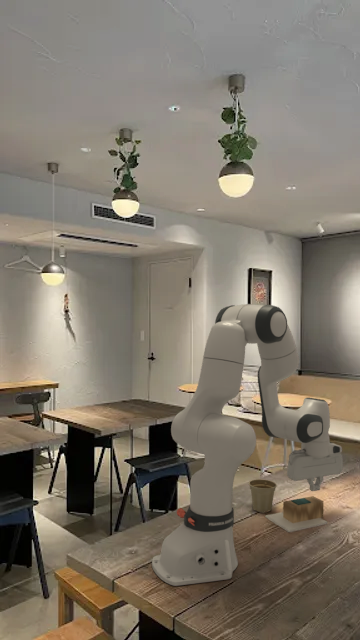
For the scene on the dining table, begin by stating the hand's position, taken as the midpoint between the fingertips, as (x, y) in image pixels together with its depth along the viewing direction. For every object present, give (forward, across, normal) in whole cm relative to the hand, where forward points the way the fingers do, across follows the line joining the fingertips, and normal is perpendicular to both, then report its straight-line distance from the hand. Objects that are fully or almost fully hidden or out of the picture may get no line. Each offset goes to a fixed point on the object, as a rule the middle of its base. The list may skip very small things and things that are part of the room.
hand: (314, 490), depth 157 cm
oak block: (+6, +2, 0) cm, 6 cm away
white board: (+9, -8, 0) cm, 11 cm away
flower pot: (+9, -12, +12) cm, 19 cm away
